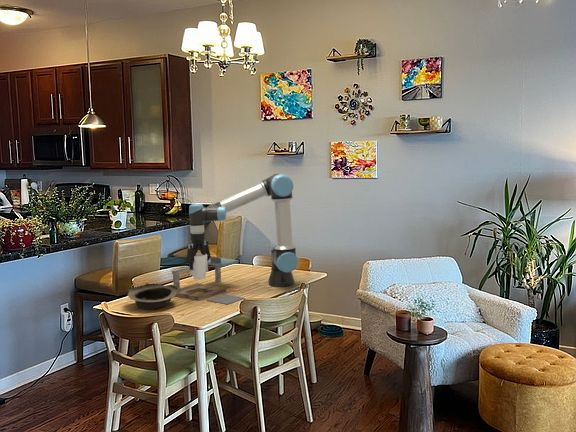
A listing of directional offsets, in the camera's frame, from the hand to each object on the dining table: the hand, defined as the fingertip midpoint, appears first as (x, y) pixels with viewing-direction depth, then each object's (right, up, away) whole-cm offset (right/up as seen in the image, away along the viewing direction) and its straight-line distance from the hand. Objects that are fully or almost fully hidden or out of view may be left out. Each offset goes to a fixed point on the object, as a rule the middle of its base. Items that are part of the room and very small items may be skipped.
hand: (199, 273), depth 296 cm
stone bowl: (-20, -15, -19) cm, 31 cm away
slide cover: (+8, +4, +18) cm, 20 cm away
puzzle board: (+3, -10, +12) cm, 16 cm away
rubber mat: (+15, -13, -9) cm, 22 cm away
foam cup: (0, -3, 0) cm, 3 cm away
